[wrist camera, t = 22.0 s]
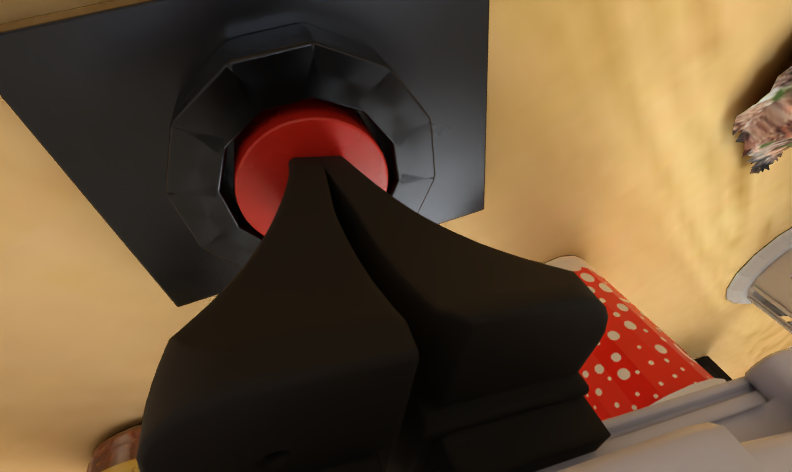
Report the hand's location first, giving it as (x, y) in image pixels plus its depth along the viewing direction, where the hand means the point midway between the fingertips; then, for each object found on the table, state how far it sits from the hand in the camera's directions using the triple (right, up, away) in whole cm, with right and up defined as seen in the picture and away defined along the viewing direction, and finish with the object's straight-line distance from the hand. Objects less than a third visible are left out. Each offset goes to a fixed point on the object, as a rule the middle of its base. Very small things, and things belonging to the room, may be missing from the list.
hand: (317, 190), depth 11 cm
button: (-1, +1, +1) cm, 2 cm away
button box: (-1, +2, +2) cm, 3 cm away
